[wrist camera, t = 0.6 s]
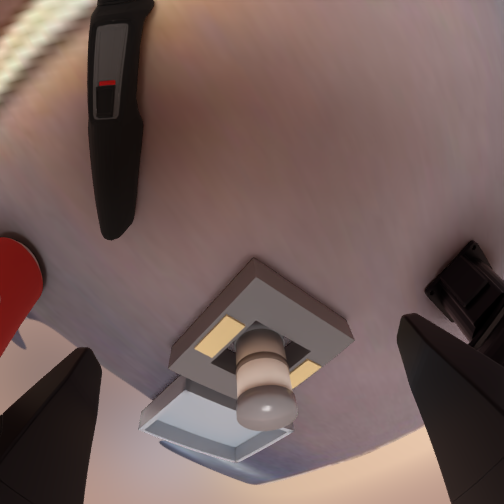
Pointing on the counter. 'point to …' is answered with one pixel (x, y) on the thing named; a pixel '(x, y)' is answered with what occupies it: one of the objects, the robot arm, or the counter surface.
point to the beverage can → (16, 287)
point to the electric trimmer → (115, 110)
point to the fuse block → (267, 313)
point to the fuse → (263, 380)
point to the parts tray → (204, 422)
